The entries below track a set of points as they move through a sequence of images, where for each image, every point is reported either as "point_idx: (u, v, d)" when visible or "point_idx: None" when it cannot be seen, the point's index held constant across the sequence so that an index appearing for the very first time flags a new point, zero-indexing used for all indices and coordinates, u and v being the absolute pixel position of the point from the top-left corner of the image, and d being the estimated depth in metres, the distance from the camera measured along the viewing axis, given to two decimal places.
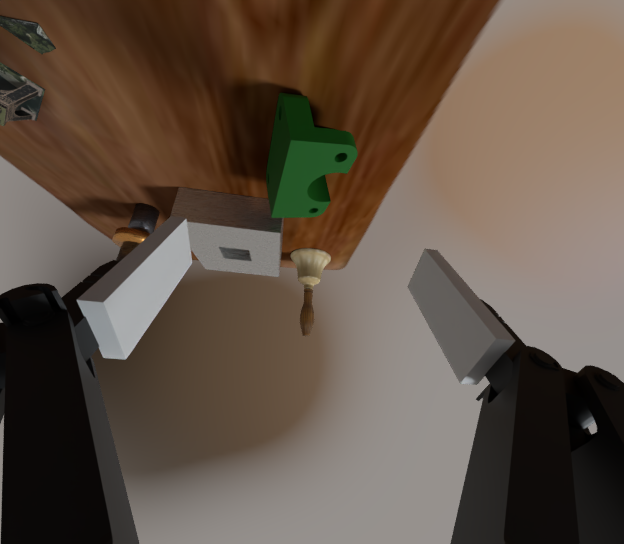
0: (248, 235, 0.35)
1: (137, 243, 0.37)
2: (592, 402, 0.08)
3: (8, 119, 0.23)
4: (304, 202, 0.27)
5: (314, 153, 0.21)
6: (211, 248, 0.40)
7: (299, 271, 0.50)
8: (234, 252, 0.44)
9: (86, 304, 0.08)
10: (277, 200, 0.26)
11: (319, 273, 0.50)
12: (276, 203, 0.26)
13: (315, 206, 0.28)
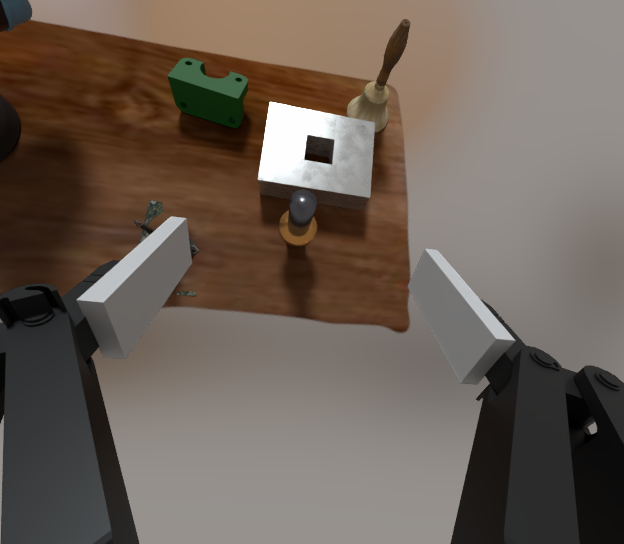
0: (277, 127, 0.42)
1: None
2: (592, 402, 0.08)
3: None
4: (225, 81, 0.42)
5: (180, 70, 0.41)
6: (308, 167, 0.41)
7: (368, 107, 0.46)
8: (331, 160, 0.43)
9: (86, 304, 0.08)
10: (217, 91, 0.41)
11: None
12: (220, 92, 0.41)
13: (233, 78, 0.42)
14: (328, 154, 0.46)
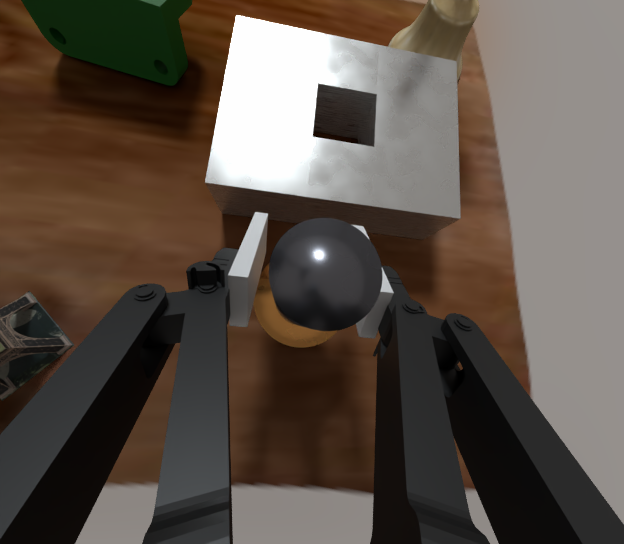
0: (253, 67, 0.19)
1: None
2: (457, 348, 0.09)
3: (13, 343, 0.16)
4: None
5: None
6: (322, 154, 0.18)
7: (435, 36, 0.23)
8: (369, 140, 0.20)
9: (234, 278, 0.10)
10: None
11: None
12: None
13: None
14: (358, 131, 0.24)
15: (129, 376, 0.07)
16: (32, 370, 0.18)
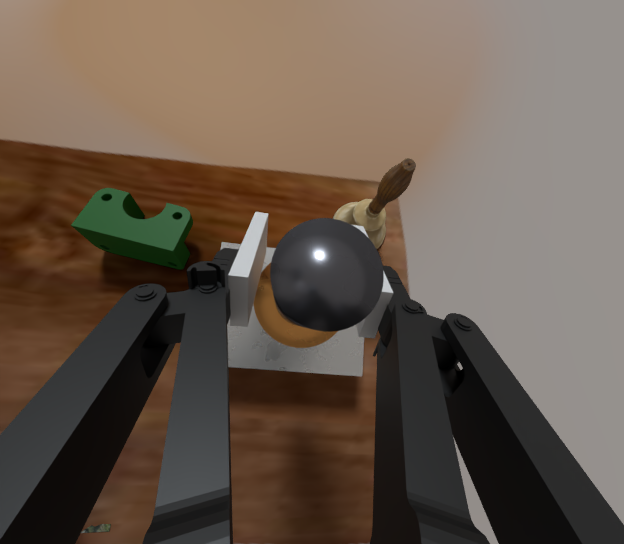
0: None
1: None
2: (457, 348, 0.09)
3: None
4: (157, 222, 0.30)
5: (93, 213, 0.29)
6: None
7: None
8: None
9: (234, 278, 0.10)
10: (143, 242, 0.29)
11: None
12: (147, 243, 0.29)
13: (169, 214, 0.31)
14: None
15: (129, 376, 0.07)
16: None
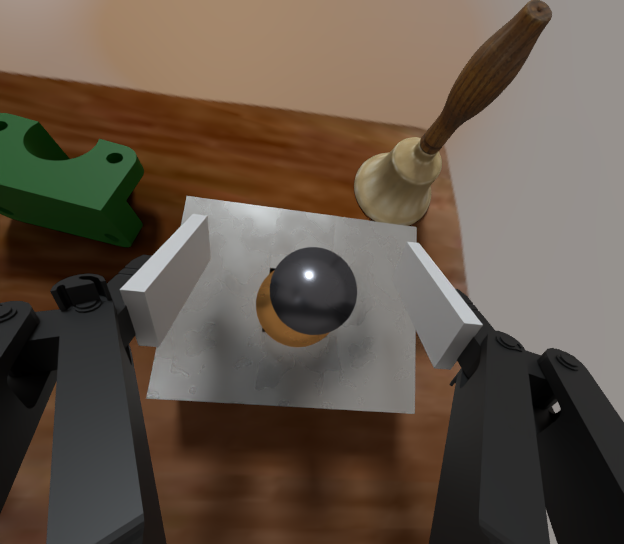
0: None
1: None
2: (555, 384, 0.08)
3: None
4: (79, 166, 0.18)
5: None
6: (271, 351, 0.18)
7: (398, 188, 0.23)
8: None
9: (128, 293, 0.08)
10: (49, 194, 0.17)
11: None
12: (57, 197, 0.17)
13: (102, 154, 0.19)
14: None
15: None
16: None
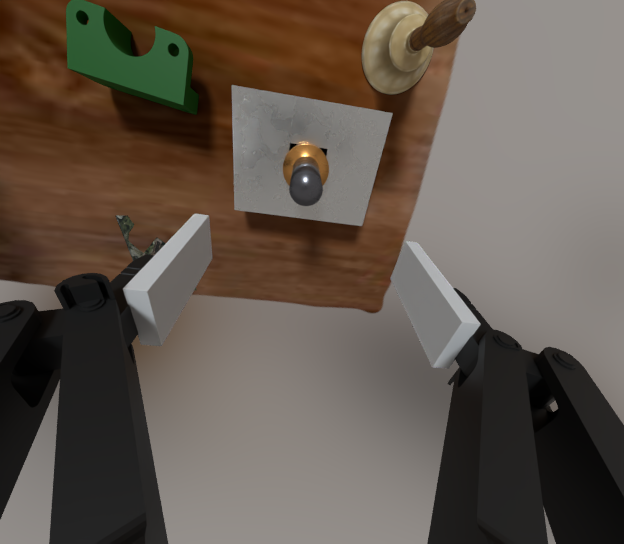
0: (249, 133, 0.30)
1: (295, 160, 0.30)
2: (552, 383, 0.08)
3: None
4: (154, 61, 0.26)
5: (80, 47, 0.25)
6: None
7: (391, 69, 0.28)
8: None
9: (131, 293, 0.08)
10: (149, 92, 0.27)
11: (400, 19, 0.26)
12: (155, 94, 0.27)
13: (164, 47, 0.26)
14: None
15: (0, 409, 0.06)
16: None
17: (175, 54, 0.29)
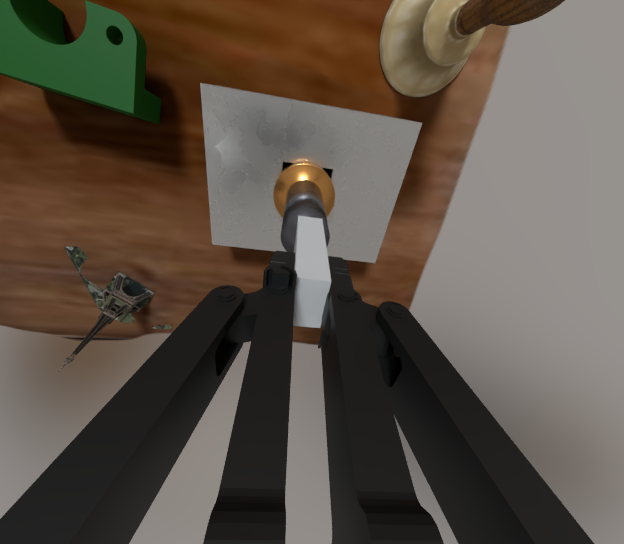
0: (227, 148, 0.22)
1: (290, 185, 0.23)
2: (392, 338, 0.09)
3: (132, 301, 0.35)
4: (87, 52, 0.18)
5: None
6: None
7: (422, 62, 0.20)
8: None
9: (300, 280, 0.10)
10: (84, 95, 0.19)
11: None
12: (92, 98, 0.19)
13: (101, 31, 0.18)
14: None
15: (204, 373, 0.07)
16: (143, 302, 0.38)
17: None
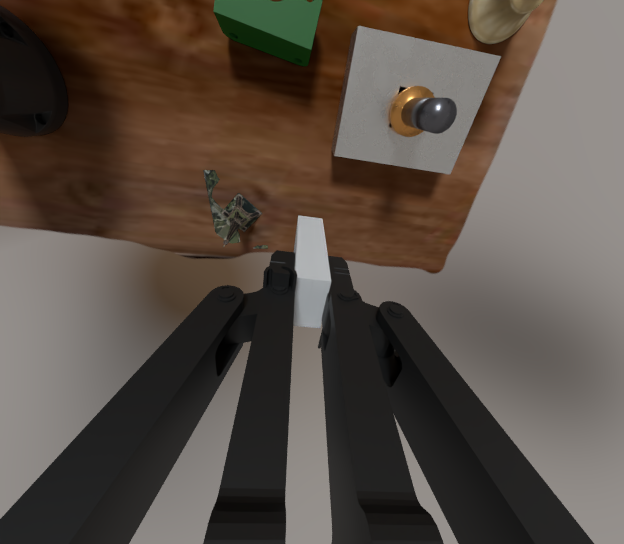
0: (364, 75, 0.32)
1: (406, 102, 0.32)
2: (392, 338, 0.09)
3: (249, 216, 0.45)
4: (291, 7, 0.29)
5: None
6: (391, 138, 0.36)
7: (504, 13, 0.30)
8: None
9: (300, 280, 0.10)
10: (282, 36, 0.29)
11: None
12: (287, 38, 0.30)
13: None
14: None
15: (204, 373, 0.07)
16: (250, 222, 0.48)
17: None
